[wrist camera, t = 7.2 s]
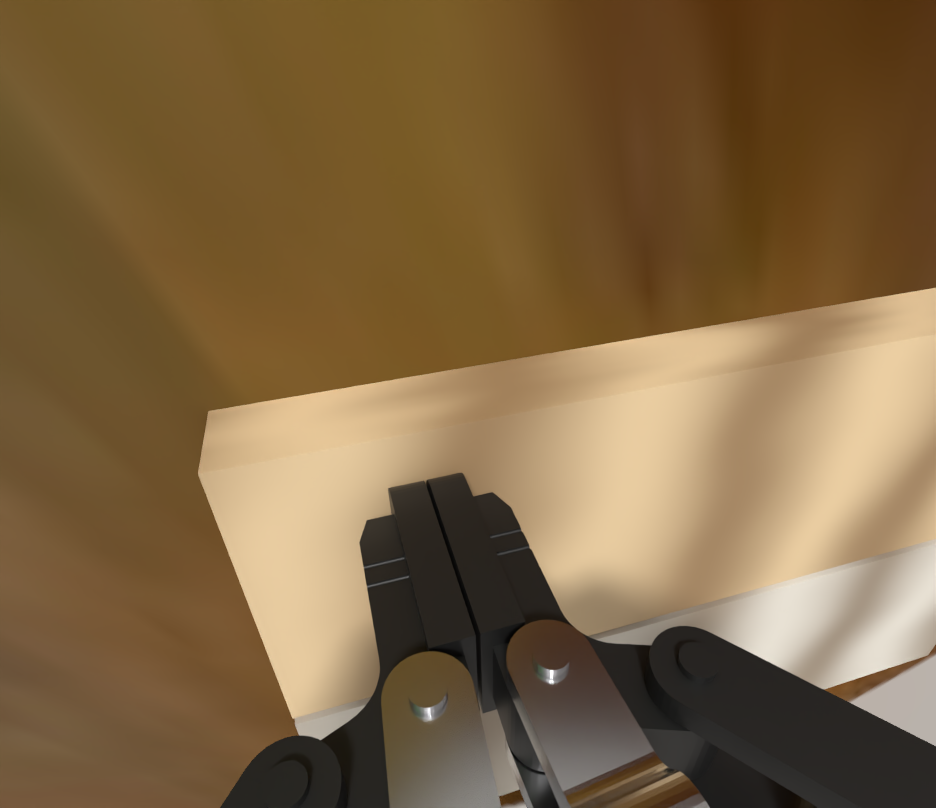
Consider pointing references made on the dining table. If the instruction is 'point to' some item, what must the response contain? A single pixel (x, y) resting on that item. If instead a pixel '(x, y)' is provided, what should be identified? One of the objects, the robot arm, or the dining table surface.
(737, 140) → the dining table surface
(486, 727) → the whitewashed oak board
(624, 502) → the honey oak plank
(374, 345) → the dining table surface
